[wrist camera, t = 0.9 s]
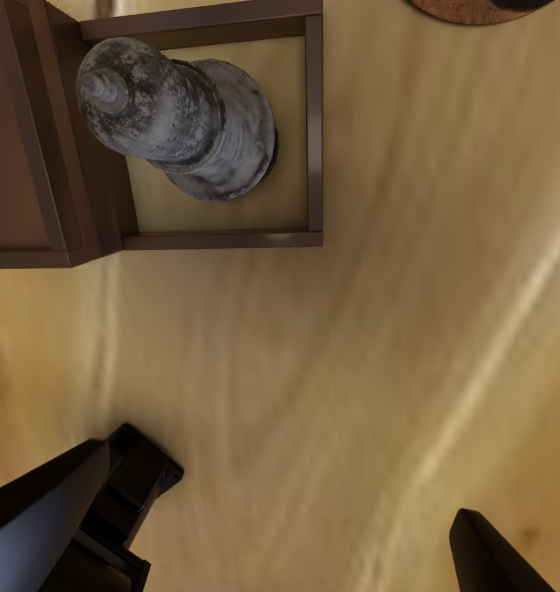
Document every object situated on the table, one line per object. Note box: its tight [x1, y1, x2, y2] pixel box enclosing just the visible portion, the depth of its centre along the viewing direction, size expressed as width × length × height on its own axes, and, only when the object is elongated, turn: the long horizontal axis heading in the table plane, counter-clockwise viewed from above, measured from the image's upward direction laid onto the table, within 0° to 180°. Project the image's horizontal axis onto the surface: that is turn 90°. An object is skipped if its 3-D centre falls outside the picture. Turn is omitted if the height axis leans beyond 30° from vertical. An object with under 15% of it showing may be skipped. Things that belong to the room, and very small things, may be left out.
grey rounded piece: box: [76, 37, 279, 202], centre depth 13 cm, size 6×6×12 cm
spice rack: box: [0, 0, 323, 269], centre depth 16 cm, size 23×11×6 cm, turn 93°
